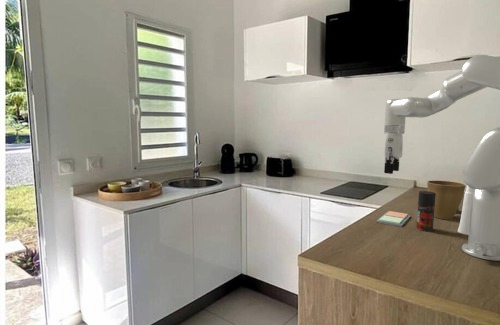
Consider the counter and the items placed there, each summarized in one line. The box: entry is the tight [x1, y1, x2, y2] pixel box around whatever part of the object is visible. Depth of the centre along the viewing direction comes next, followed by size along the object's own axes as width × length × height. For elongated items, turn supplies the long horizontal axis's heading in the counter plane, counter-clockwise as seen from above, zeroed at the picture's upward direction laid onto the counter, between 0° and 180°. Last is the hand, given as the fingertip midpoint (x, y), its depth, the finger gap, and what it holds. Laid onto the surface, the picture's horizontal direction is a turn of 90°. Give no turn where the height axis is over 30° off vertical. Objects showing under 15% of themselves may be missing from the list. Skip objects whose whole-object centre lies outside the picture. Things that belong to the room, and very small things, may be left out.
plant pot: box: [426, 180, 467, 221], centre depth 147 cm, size 15×15×16 cm
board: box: [375, 210, 411, 228], centre depth 144 cm, size 18×10×1 cm, turn 143°
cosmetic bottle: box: [457, 185, 474, 236], centre depth 126 cm, size 6×6×22 cm
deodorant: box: [415, 190, 436, 232], centre depth 131 cm, size 6×6×15 cm
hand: (391, 172), depth 133 cm, fingers open, 9 cm apart
